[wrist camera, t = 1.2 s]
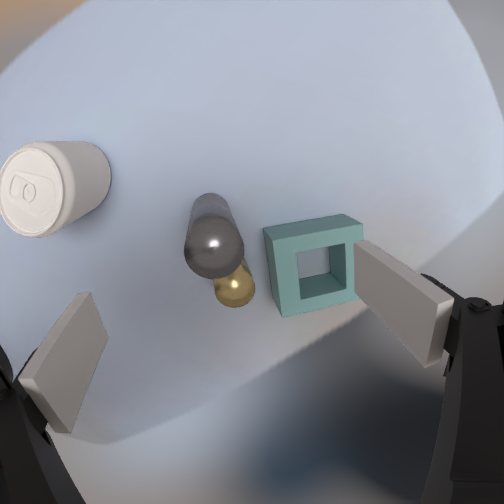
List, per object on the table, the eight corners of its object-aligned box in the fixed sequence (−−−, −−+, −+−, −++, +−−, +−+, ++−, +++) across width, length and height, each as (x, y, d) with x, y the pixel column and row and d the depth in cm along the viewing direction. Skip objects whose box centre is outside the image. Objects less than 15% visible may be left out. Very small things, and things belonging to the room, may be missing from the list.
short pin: (216, 286, 36) (219, 310, 31) (209, 255, 35) (211, 275, 29) (249, 279, 37) (257, 303, 31) (244, 248, 35) (251, 267, 30)
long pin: (196, 231, 34) (191, 283, 21) (189, 196, 33) (178, 228, 19) (231, 225, 34) (248, 273, 21) (225, 190, 33) (239, 216, 20)
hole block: (272, 297, 38) (282, 317, 33) (263, 227, 35) (272, 240, 30) (346, 281, 39) (363, 297, 34) (343, 214, 36) (362, 223, 31)
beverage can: (99, 222, 32) (55, 257, 21) (44, 199, 30) (-14, 223, 18) (123, 155, 30) (81, 158, 19) (64, 133, 28) (6, 130, 17)
